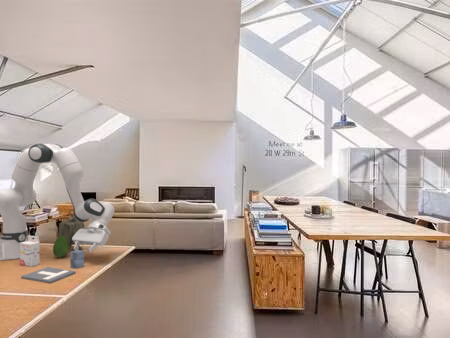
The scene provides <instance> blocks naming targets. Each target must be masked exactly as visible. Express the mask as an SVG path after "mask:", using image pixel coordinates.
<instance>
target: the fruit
mask: <svg viewBox="0 0 450 338" xmlns="http://www.w3.org/2000/svg"><path fill="white" fill-rule="evenodd" d="M69 250H70V247H69V248H68V243H67V240H66V238H65V237H64V236H60V237H59V236H58V237H57V238H56V240H55V241H54V243H53V246H52V251H53V255H54V256H55V257H57V258H61V259H62V258H64V257H66V256H67V254H68V253H69Z"/></svg>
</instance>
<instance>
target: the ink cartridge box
mask: <svg viewBox="0 0 450 338" xmlns="http://www.w3.org/2000/svg"><path fill="white" fill-rule="evenodd" d="M27 239H28V241H26V242H21V243H20V258H19V266H25V267H30V268H31V267H35V266H38V265H40V236H37V235H36V236H35V235H28V234H27Z"/></svg>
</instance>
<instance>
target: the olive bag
mask: <svg viewBox="0 0 450 338" xmlns="http://www.w3.org/2000/svg"><path fill="white" fill-rule="evenodd" d="M71 211H72V212H73V209H72V208H71V209H68V215H69V217H68V218H67V219H66V220H64V221H61V222H59V224H58V237H60V236H64V237H65V238H66V240H67V243H68V248H69V249H70V248H72V246H73V245H74V246H75V242H74V241H73V240H72V237H73V236H74V235H75V233H76V232H77V231H78V230H79V229H81V228H83V227H85V222H81V221H78V220H77V219H76V218H75V217H74V213H71V214H70V212H71ZM78 247H79V249H78V250H82V249H83V248H82V247H81V246H80V245H78Z"/></svg>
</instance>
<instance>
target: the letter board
mask: <svg viewBox="0 0 450 338" xmlns="http://www.w3.org/2000/svg"><path fill="white" fill-rule="evenodd" d="M76 272H77V271H76V270H70V269H63V268H57V267H50V266H47V267H44V268H42V269H41V268H40V269H38V270H35V271H32V272H29V273H25V274H24V275H20V279H23V280H30V281H35V282H40V283H47V284H53V283H56V282H58V281H60V280H62V279H66V278H67V277H70V276H73V275H75V274H76Z"/></svg>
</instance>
